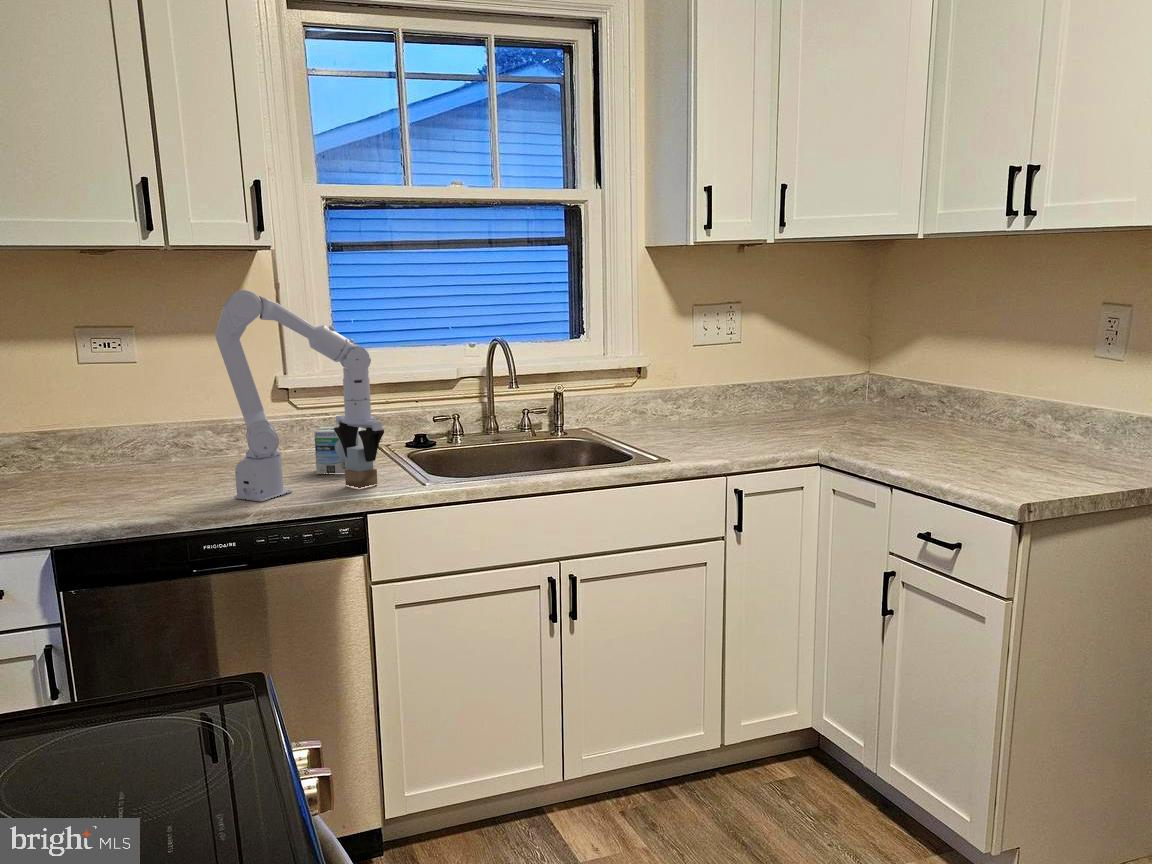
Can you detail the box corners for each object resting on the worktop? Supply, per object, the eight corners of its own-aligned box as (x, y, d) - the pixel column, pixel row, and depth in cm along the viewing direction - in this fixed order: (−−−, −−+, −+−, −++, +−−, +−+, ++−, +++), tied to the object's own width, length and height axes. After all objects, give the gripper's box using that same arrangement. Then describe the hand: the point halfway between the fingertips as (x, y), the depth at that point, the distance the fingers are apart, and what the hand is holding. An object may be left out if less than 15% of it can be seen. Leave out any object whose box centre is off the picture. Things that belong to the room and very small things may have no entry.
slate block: (358, 472, 198) (357, 450, 198) (347, 469, 201) (346, 447, 200) (373, 469, 201) (372, 447, 201) (362, 466, 204) (361, 445, 203)
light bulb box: (315, 475, 213) (313, 431, 211) (322, 469, 220) (320, 426, 218) (360, 474, 214) (358, 430, 212) (366, 468, 220) (364, 425, 218)
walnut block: (359, 490, 198) (358, 473, 197) (345, 487, 201) (344, 470, 201) (377, 486, 202) (376, 469, 201) (363, 483, 205) (362, 466, 204)
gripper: (392, 399, 197) (394, 460, 199) (352, 394, 206) (356, 452, 209) (365, 403, 192) (368, 465, 194) (326, 397, 201) (330, 456, 203)
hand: (360, 458), depth 201 cm, fingers open, 7 cm apart
